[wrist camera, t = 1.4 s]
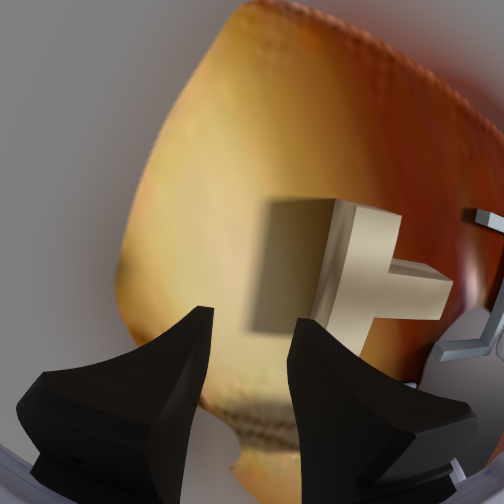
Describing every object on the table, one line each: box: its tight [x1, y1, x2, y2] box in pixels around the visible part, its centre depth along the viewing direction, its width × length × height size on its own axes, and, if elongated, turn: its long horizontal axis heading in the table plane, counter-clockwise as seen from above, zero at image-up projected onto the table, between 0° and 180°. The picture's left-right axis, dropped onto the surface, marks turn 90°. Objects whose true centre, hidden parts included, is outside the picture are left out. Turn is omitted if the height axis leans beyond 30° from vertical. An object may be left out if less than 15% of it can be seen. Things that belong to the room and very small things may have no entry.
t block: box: [309, 199, 453, 357], centre depth 18 cm, size 10×9×4 cm
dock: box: [431, 209, 504, 362], centre depth 19 cm, size 14×9×2 cm, turn 172°
